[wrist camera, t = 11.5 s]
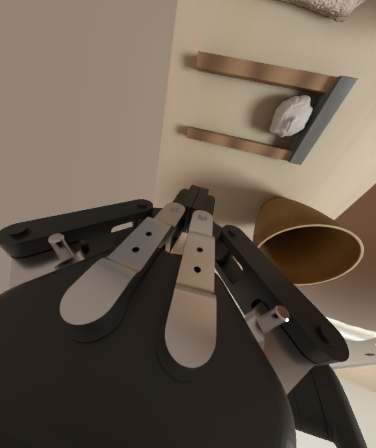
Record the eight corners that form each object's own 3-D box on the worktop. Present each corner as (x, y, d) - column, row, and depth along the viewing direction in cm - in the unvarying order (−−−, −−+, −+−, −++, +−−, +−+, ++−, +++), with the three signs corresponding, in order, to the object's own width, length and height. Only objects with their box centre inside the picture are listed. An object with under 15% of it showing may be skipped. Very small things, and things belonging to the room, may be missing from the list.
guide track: (341, 82, 21) (357, 78, 19) (294, 159, 29) (300, 165, 26) (200, 55, 23) (196, 48, 20) (189, 135, 30) (185, 137, 27)
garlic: (278, 143, 28) (286, 148, 24) (260, 122, 26) (266, 124, 22) (313, 112, 24) (330, 112, 20) (294, 86, 23) (308, 80, 19)
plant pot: (292, 237, 39) (319, 293, 27) (237, 225, 41) (241, 274, 29) (330, 187, 30) (399, 239, 18) (258, 175, 32) (275, 216, 20)
